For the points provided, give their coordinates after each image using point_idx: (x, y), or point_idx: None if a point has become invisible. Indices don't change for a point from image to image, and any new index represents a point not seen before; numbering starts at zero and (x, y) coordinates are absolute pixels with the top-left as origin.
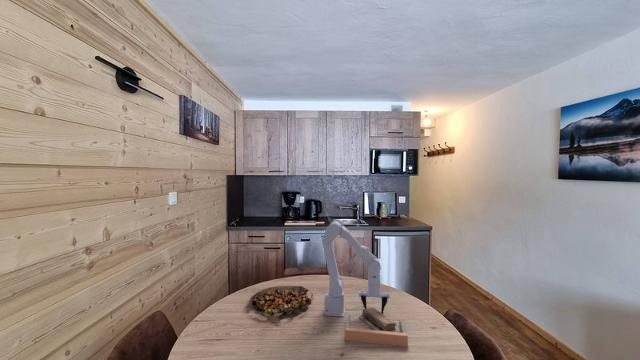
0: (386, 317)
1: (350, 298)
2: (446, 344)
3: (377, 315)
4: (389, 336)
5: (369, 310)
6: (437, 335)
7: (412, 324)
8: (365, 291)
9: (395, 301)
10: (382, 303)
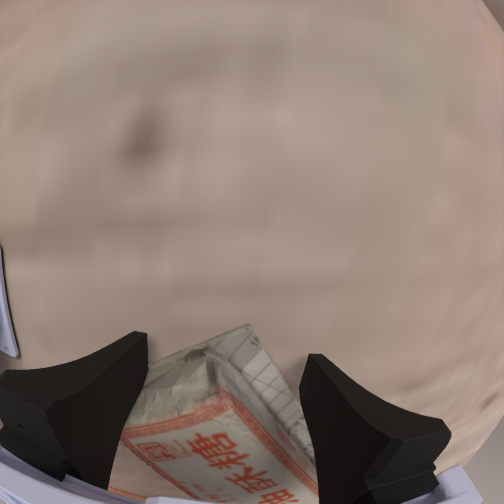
0: (297, 500)
1: (62, 27)
2: (444, 469)
3: (233, 499)
4: None
5: (167, 458)
6: (460, 442)
7: (439, 409)
8: (21, 494)
9: (468, 82)
10: (321, 494)
